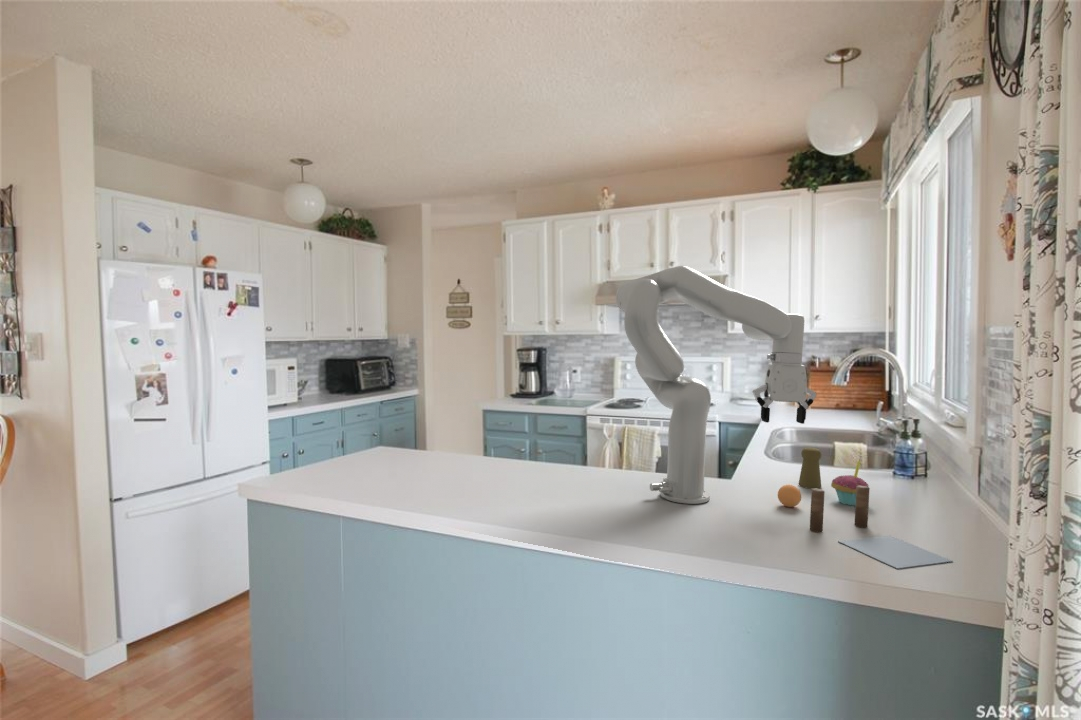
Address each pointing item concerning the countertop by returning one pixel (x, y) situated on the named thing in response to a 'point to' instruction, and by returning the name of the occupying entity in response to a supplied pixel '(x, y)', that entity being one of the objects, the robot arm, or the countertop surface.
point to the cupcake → (848, 486)
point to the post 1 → (817, 510)
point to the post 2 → (862, 506)
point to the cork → (810, 468)
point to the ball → (789, 495)
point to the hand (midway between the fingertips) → (782, 422)
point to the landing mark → (895, 552)
